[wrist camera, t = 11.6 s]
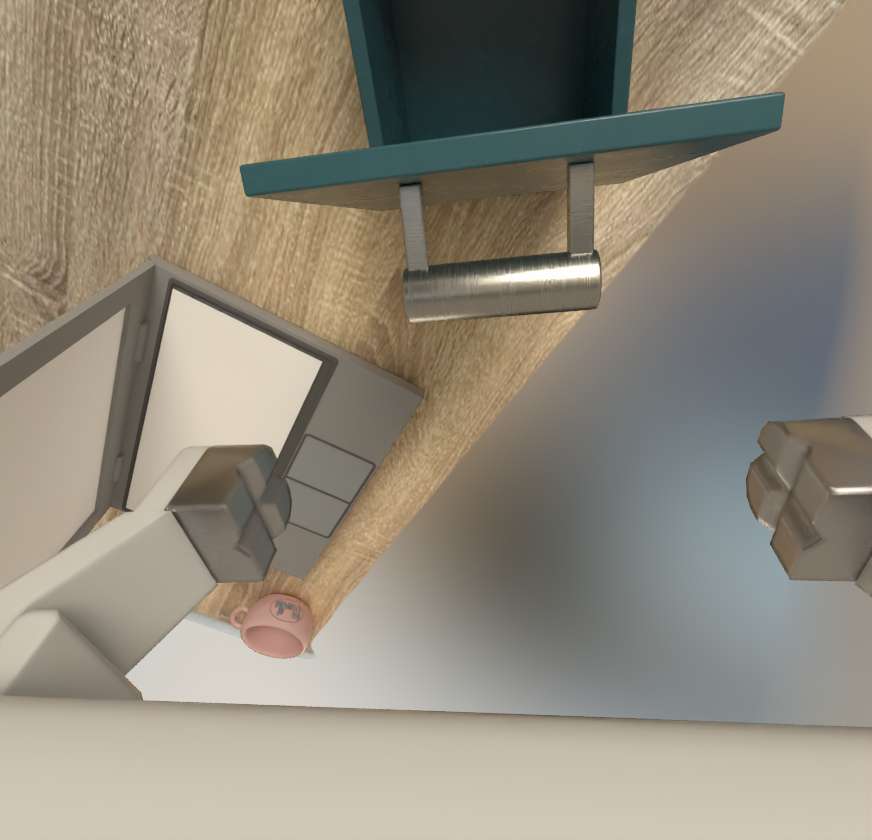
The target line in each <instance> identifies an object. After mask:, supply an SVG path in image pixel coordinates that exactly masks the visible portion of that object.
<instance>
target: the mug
mask: <svg viewBox="0 0 872 840" xmlns="http://www.w3.org/2000/svg"><path fill="white" fill-rule="evenodd" d="M240 611H244V612H245V613H246V616H245V618H244V620H243V623H242V624H240V623H237V622H236V615H237V614H238V613H239V612H240ZM230 623H231V625H232V626H233V627H235V628H237V629H241V631H240V632H241V638H242V640H243V642H244V643H245V644H246V645H247V646H248V647H249V648H251V649H252V650H254V651H255V652H258V653H260V654H262V655H265V656H269V657H273V658H283V659H286V658H293V657H296V656H298V655H301V654H302V653H303V652H304V651H305V650H306V648H307V646H308V644H309V642H310V639H311V636H312V629H313V622H312V615H311V612H310V610H309V608H308V607H307V605H306V604H305V603H303V602H302V601H301V600H299V599H297V598H295V597H292V596H289V595H285V594H270V595H267V596H264V597H263V598H261V599H260V600H258V601H257V602H256V603H255V604H254V605H253V606H252V607H251V608H250V609H249V608H247V607H246V606H239V607H237V608H236V609H235V610H234V611H233V612H232V614H231V616H230Z"/></svg>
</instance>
